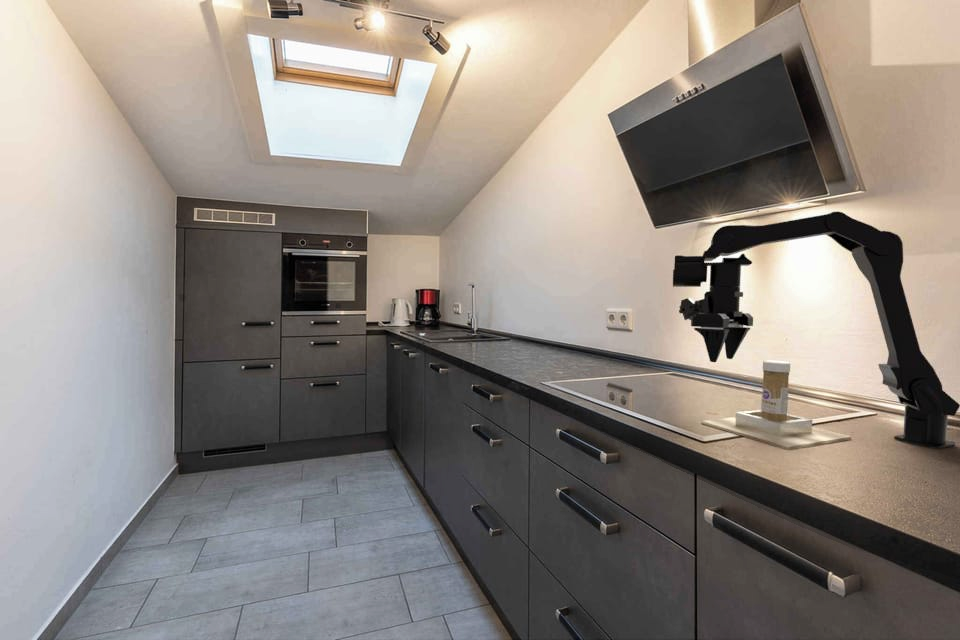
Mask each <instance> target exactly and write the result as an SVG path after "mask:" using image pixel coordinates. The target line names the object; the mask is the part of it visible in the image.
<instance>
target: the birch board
mask: <svg viewBox="0 0 960 640" xmlns="http://www.w3.org/2000/svg"><path fill="white" fill-rule="evenodd" d="M735 423H736V416H734V417H733V416H732V417H724V418H717V419H716V418H715V419H709V420H706V419H705V420H701V424H703V425H705V426H709V427H712V428H715V429H719V430H723V431H726V432H729V433H732V434H736V435H740V436H741V437H745V438H747V439H752V440H754V441H758V442H761V443H764V444H768V445H770V446H775V447H778V448H782V449H784V450H788V451H789V450H795V449H800V448H806V447H813V446H818V445H819V446H820V445H826V444H830V443H838V442H843V441H849V440H852V436H850V435H846V434H842V433H838V432H833V431H830V430H826V429H822V428H818V427H815V426H812V433H805V434H799V435H792V436H785V437H777V436H774V435H770V434H767V433H763V432H760V431H756V430H753V429H749V428H746V427H742V426H739V425H735Z"/></svg>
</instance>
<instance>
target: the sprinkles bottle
mask: <svg viewBox="0 0 960 640" xmlns="http://www.w3.org/2000/svg"><path fill="white" fill-rule="evenodd" d="M762 370H763V371H762V372H763V375H762V376H763V379H762V395H761V404H760V405H761V406H760V407H761V408H760V410H761V417H762V418H766V419H770V420H774V421H778V422H780V421H786V418H787V414H788V408H789V407H788V404H789V402H788V401H789V375H790V372H791V363H790V362H788V361H783V360H777V359H776V360H775V359H769V360H768V359H767V360H763V361H762Z"/></svg>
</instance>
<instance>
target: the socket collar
mask: <svg viewBox="0 0 960 640" xmlns="http://www.w3.org/2000/svg"><path fill="white" fill-rule="evenodd" d="M735 417H736V423H735V425H739V426H742V427H746V428H749V429H753V430H756V431H760V432H763V433H767V434H770V435H774V436H777V437H785V436H792V435H799V434H805V433H812V427H813V419H811V418H806V417H803V416H798V415H794V414H790V413H789V414H788V413H787V418H786V421H780V422H778V421H774V420H770V419H766V418H762V417H761V409H756V410H755V409H753V410H747V411H745V410H744V411H737V412H735Z"/></svg>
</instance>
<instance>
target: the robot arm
mask: <svg viewBox="0 0 960 640" xmlns="http://www.w3.org/2000/svg"><path fill="white" fill-rule="evenodd" d="M824 235H825V236H828V237H829V238H830V239H832V240H833V241H834V242H836V243H837V244H838V245H839V246H840V247H842V248H844V249H845V250H847V251H849V252H851V256H852V258H853V259H854V262H855V263H856V266H857V268H858V270H859V271H860V272H861V273H862V275H863V276H864V278H865V279H866V280H867V282H868V283H869V285H870V289H871V292H872V297H873V300H874V303H875V307H876V310H877V315H878V319H879V321H880V324H881V325H880V326H881V330H882V334H883V337H884V341H885V344H886V347H887V351H888V357H887V363H879V364H878V369H879V370H880V372H881V375H882V383H881V384H882V385H884V386H887V387H888V390H889V391H890V392H891V393H893V394H894V395H896V397H897V399H898V401H899V403H900V404H901V405H904V417H903V419H904V420H903V433H902V434H899V435H894V436H893V439H894V440H899V441H902V442H907V443H910V444H911V443H912V444H916V445H919V446H923V447H928V448H933V449H942V448H948V447H953V446H952V445H954V446H956V444H957V443H956V442H954V441H950V440H947V433H948V419H949V418H948V417H949V416H955V415H956V414H957V412H958V411H959V408H960V404H959V402H957V401H956V400H955V399H954V398H952V397H951V396H950V395H949V394H948V393H947V392H945V390H943V384H942V382H941V380H940V378H939V376H938V374H937V373H936V370H935V368H934V367H933V365H932V364H931V363H930V361H929V360H928V358H926V357H925V355H924V354H923V352H922V350H921V347H920V344H919V341H918V337H917V333H916V330H915V329H916V328H915V326H914V321H913V319H912V315H911V312H910V307H909V304H908V301H907V297H906V294H905V289H904V285H903V283H902V279H901V275H902V269H903V266H904V265H903V264H904V245H903V244H904V243H903V240H902V239H901V237H900V235H898V234H896V233H895V232H892V231H888V230H880V229H878V228H876V227H874V226H872V225H870V224H867V223H866V222H863V221H860V220H857V219H855V218H853V217H852V216H849V215H847V214H845V213H844V212H842V211H832V212H830V213H827V214H826V213H825V214H821V215H815V216H809V217H804V218H798V219H792V220H786V221H780V222H775V223H770V224H764V225H752V224H746V225H745V224H743V225H742V224H741V225H740V224H738V225H737V224H735V225H723V226H721V227H720V228H718V229H717V230H716V231H715V232H714V233H713V235H712V238H711V240H710V246H709V247H708V248H707V250H704V251H703V253H702V255H675V256H674V266H673V270H672V288H674V287H676V288H677V287H680V288H681V287H683V288H684V287H685V288H695V287H696V288H698V287H702V286H701V285H702V283H707V278H708V267H710V272H709V273H710V275H709V291H705V293H704V298H703V299H699V300H695V301H694V300H693V298H691V297H690V298H688V297H687V298H685V299H681V301H680V306H679V309H678V312H679V314H682V316H683V319H684V321H687V320H690V327H694V328H693V330H694V331H695V332H697V333H699V334H700V336H701V337H702V338H703V340H704V343H705V347H706V351H707V354H708V358H709V359H708V360H709V362H711V363H716V362H717V360H718V359H719V356H720V354H721V351H722V349H723V347H724V348H725V356H726V359H728V360H733V358H734V357H735V354H736V353H737V352H738V349H739V348H740V346H741V344H742V343H743V341H744V339H745V337H747V336H746V335H747V334H748V333H749V331H750V330H751V327H752V326H754V317H753V316H752V315H751V314H750V313H748V312H746V313H745V312H743V311H740V301H741V300H740V298H744V292H743V291H741V277H742V276H741V275H742V274H741V273H742V272H741V271H742V267H743V266H744V267H746V266H747V267H748V266H750V265H752V264H753V261H752V260H751V259H749V258H748V257H747V256H746V254H745V253H741V252H745V251H747V250H751V249H753V248H756V247H759V246H762V245H769V244H774V243H782V242H787V241H793V240H799V239H807V238H813V237H819V236H824ZM738 253H741V254H740V255H739V256H738V257H728V256H732V255H735V254H738ZM721 256H722V261H720V262H718V261H717V262H713V260H716V259H717V258H718V257H719V258H720V257H721ZM744 326H745V327H744Z"/></svg>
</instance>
